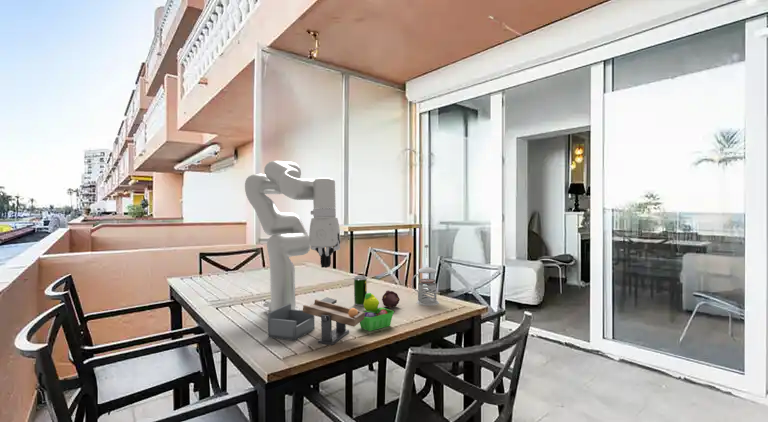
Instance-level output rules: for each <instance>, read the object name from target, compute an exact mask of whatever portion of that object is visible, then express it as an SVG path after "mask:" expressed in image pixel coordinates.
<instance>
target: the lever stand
mask: <svg viewBox="0 0 768 422" xmlns="http://www.w3.org/2000/svg"><path fill="white" fill-rule="evenodd" d="M320 318H321V319H320V323H321V324H320V325H321V326H320V327H321V329H320V330H321V333H320V335H321V338H319V339H318V340H317V344H320V345H331V346H333V345H335V344H336V343H337V342H339V341H340V340H341V339H342V338H344V337H345V336H346V335H347V334H349V333H350V329H347V327H346V326H347V325H346V324H343V323H339V322H336V321H335V328H334V329H333V328H332V324H333V322H332V318H331V315H321V317H320Z"/></svg>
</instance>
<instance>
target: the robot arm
mask: <svg viewBox="0 0 768 422" xmlns="http://www.w3.org/2000/svg"><path fill="white" fill-rule="evenodd" d="M263 171H264V173H255V174H251V175H249V176H248V177H247V178H246V179H245V182H244V192H245V196H246V197H247V200H248V202H249V203H250V205H251V206H252V208H253V209H254V211H255V213H256V216H257V218H258V220H259V223H260V225H261V228H262V230H263V232H265V234H266V235H268V236H270V237H269V238H268V239H267V241H266V242H267V243H266V249H267V254H268V260H269V261H268V262H269V272H270V273H269V277H270V279H269V280H270V282H269V283H270V284H269V285H270V287H269V288H270V300H265V301H264V303H263V304H262V305H263V307H265V308H266V307H267V308H268V309H267V311H266V315H267V316H268V313H269V312H271V311H273V310H276V309H278V308H280V307H282V306H285V305H287V304H291V309H292V310H301V308H300V307H299V306H296V270H295V269H296V268H295V264H294V263H293V261H292V260H291V257H297V256H304V255H306V254H308V253H309V252H310V250H312V251H315V252H316V253H318V256H319V257H320V267H321V268H326V269H327V268H330V267H331V264H332V258H331V257H332V255H333V253H334V252H335V251H339V250H341V229H340V224H339V219H338V217H337V216H336V212H337V210H336V209H337V207H336V205H337V203H336V181H335V180H334V179H333V178H332V177H331V178H330V177H317V178H301V175H302V171H301V167H300V166H299V164H297V163H296V162H293V161H286V160H285V161H283V160H270V161H269V162H268V163H266V165H265V166H264V170H263ZM267 195H284V196H286V197H287V198H290V199H291V200H294V201H295V200H296V201H303V200H304V201H312V203H313V209H312V210H311V211H310V215H313V217H312V218H310V224H309V233H308V232H307V230H306V228H305V226H304V224H303V223H304V222H302V219H301V218H300V217H299V215H298V214H296V213H295V212H290V211H289V212H288V211H287V212H281V211H279V209H278V208H277V205H276V203H275V202H274V201H273V200H272V199H271V198H270V197H269V196H267Z"/></svg>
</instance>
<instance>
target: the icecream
mask: <svg viewBox="0 0 768 422" xmlns="http://www.w3.org/2000/svg"><path fill="white" fill-rule="evenodd" d="M381 301H382V304H383V306H384V307H386V308H387V309H388V308H389V309H394V308H396V307H397V305H398V304H399V303H400V298H399V294H398V293H397V292H395V291H392V290H386V291H385V292H384V294H383V295H382V298H381Z"/></svg>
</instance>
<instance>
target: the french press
mask: <svg viewBox="0 0 768 422" xmlns="http://www.w3.org/2000/svg"><path fill="white" fill-rule="evenodd" d="M429 247H430V246H429V245H428V244H424V248H426V253H425V254H426V257H428V253H427V252H428V248H429ZM417 272H418V273H420V274H435V273H437V269H435V268H433V267H430V266H425V267H421V268H419V269H418V270H417ZM418 273H417V274H416V273H415V274H414V275H413V276H412V278H411V286H412V288H413V290H414V291H416V292H417V301H416V304H417V305H418V306H419V305H420V306H423V307H424V306H427V307H429V306H437V305H439V304H440V302H439V301H438V299H437V283H436V279H434V278H428V277H426V278H420V279H418V281H419V282H418V283H417V284H418V289H416V288H415V287H414V285H413V283H414V279H415V277H417V278H419V277H420V275H419V274H418Z"/></svg>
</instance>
